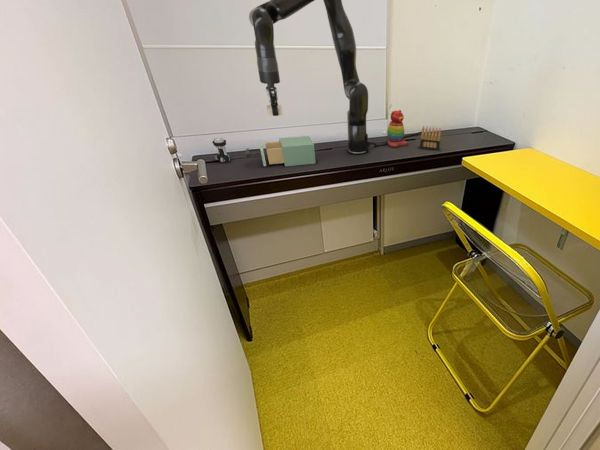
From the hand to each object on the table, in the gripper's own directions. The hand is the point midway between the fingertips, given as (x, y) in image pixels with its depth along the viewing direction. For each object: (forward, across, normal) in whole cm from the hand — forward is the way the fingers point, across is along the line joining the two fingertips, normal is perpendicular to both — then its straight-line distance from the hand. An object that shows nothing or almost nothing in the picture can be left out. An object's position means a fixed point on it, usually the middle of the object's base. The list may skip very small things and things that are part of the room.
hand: (275, 113), depth 131 cm
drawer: (+21, 0, +5) cm, 21 cm away
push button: (+22, +8, +25) cm, 34 cm away
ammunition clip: (+21, -2, -76) cm, 79 cm away
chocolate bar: (0, 0, 0) cm, 0 cm away
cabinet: (+21, 0, -7) cm, 23 cm away
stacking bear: (+21, +10, -61) cm, 66 cm away
